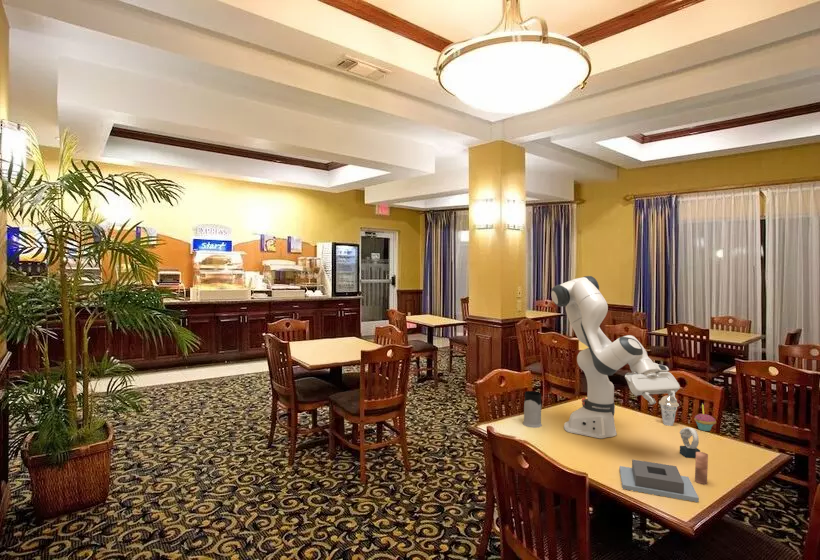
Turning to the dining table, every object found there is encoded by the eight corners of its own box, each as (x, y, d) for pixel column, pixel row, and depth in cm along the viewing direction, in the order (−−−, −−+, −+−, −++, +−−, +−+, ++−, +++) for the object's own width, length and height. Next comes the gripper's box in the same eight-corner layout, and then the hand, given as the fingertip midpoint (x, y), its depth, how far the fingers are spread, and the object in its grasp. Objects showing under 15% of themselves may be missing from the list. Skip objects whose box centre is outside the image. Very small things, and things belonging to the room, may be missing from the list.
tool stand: (622, 489, 153) (622, 474, 152) (619, 469, 167) (619, 456, 167) (698, 502, 144) (699, 487, 144) (688, 481, 159) (688, 467, 159)
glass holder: (520, 425, 214) (521, 393, 213) (529, 417, 226) (530, 387, 225) (538, 429, 209) (539, 396, 209) (547, 420, 221) (547, 390, 221)
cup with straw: (655, 423, 219) (656, 382, 219) (662, 419, 225) (663, 379, 225) (674, 428, 213) (676, 386, 212) (681, 424, 219) (682, 383, 218)
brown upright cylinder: (696, 483, 158) (697, 454, 158) (693, 478, 161) (694, 451, 161) (708, 485, 157) (709, 456, 156) (705, 480, 160) (706, 452, 160)
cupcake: (689, 426, 216) (690, 401, 216) (706, 426, 217) (707, 401, 217) (702, 433, 208) (703, 407, 207) (720, 432, 208) (721, 406, 208)
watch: (690, 451, 186) (691, 425, 185) (702, 460, 178) (703, 432, 177) (676, 451, 186) (677, 424, 186) (688, 459, 178) (689, 431, 178)
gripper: (627, 368, 177) (645, 400, 168) (670, 366, 182) (690, 397, 173) (619, 377, 181) (636, 408, 172) (661, 375, 186) (681, 405, 177)
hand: (664, 402), depth 172 cm, fingers open, 8 cm apart
